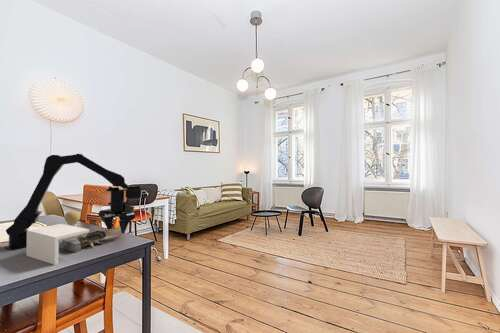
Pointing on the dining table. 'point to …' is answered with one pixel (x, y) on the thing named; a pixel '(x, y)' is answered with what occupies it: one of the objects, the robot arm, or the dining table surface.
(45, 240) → the low shelf
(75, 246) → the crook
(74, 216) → the light bulb
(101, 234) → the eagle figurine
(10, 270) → the dining table surface
